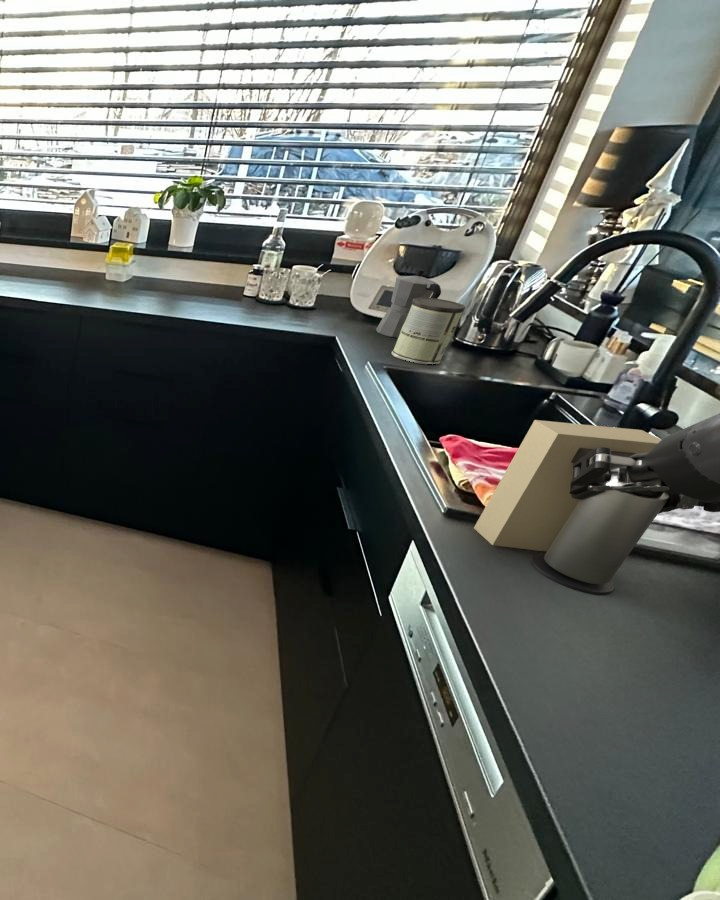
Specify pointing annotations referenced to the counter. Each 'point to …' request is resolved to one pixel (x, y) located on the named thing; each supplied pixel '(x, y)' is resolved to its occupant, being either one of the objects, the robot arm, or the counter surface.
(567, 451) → the coffee maker
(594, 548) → the grey canister
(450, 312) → the coffee can
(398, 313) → the coffeepot
